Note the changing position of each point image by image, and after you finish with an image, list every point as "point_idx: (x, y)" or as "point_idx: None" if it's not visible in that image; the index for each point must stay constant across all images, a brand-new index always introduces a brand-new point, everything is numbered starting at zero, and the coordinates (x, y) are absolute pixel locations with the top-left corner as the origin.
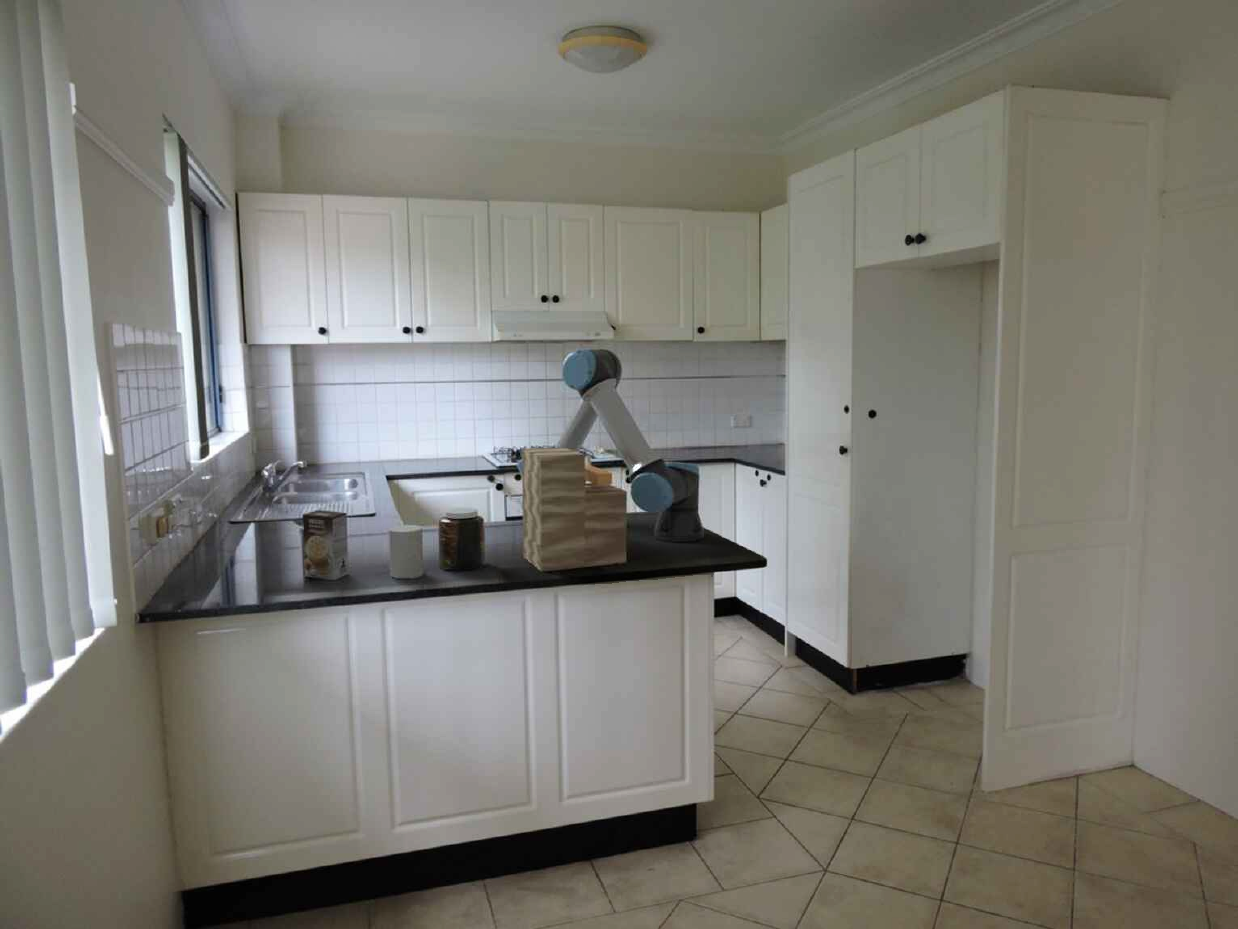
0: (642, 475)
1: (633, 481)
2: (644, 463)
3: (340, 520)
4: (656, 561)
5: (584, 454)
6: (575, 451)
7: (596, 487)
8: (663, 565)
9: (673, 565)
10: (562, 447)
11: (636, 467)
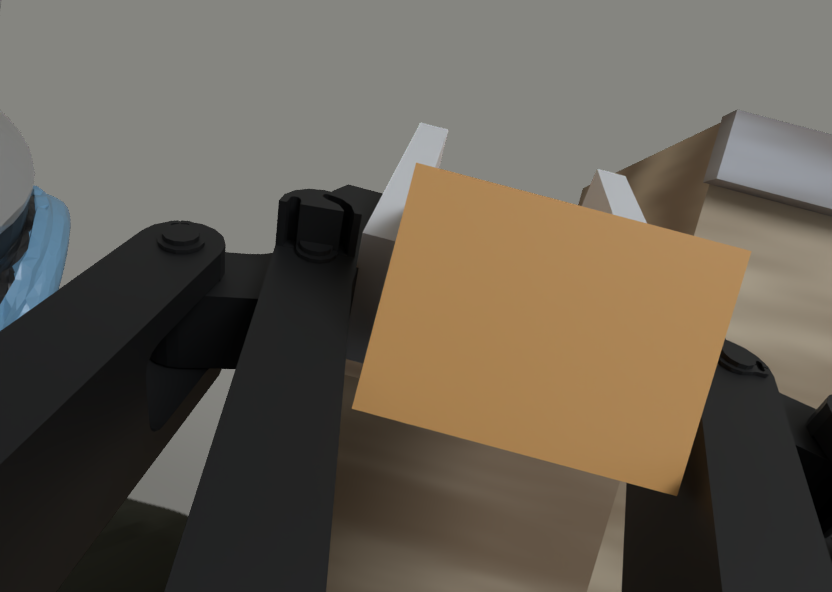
0: (68, 215)
1: (60, 276)
2: (3, 114)
3: None
4: (151, 558)
5: (584, 188)
6: (623, 170)
7: None
8: (183, 526)
9: (158, 511)
10: (743, 119)
11: (13, 154)
